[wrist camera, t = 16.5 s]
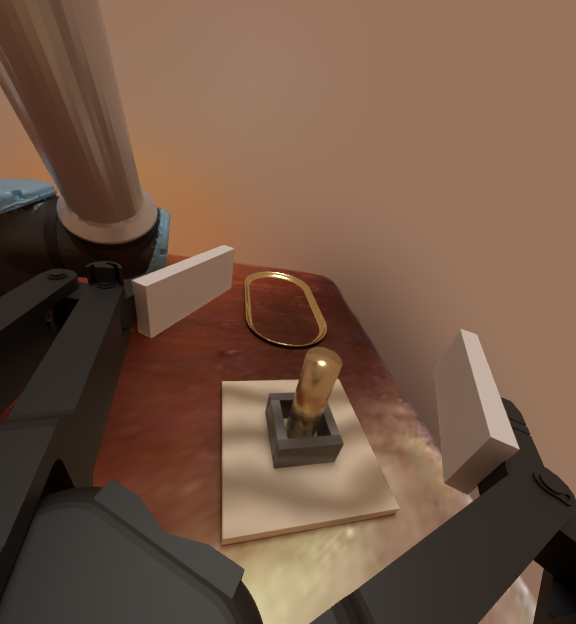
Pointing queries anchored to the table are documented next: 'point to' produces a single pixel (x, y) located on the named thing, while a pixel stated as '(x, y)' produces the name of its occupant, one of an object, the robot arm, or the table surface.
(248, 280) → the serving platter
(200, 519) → the table surface
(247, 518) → the socket board
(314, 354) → the brass post
